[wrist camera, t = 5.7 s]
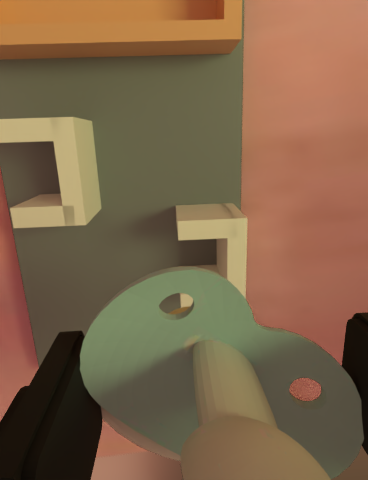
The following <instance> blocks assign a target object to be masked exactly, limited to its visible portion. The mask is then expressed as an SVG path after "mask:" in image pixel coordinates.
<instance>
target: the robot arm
mask: <svg viewBox="0 0 368 480" xmlns="http://www.w3.org/2000/svg"><path fill="white" fill-rule="evenodd" d="M84 338H85V336H84V334H83V331H81V330H80V331H64V332H59V333H58V335H57V337H56V338H55V340H54V342H53V344H52V346H51V347H50V349H49V351H48V353H47V355H46V356H45V358H44V360H43V362H42V364H41V365H40V367H39V369H38V371H37V373H36V374H35V376H34V378H33V380H32V382H31V383H30V385H29V386H24V387H23V388H21V389H20V390H19V392H18V393H17V394H16V396H15V398H14V400H13V401H12V403H11V405H10V406H9V408H8V410H7V412H6V413H5V415H4V417H3V418H2V420H1V422H0V480H90V479H91V475H92V470H93V466H94V462H95V457H96V453H97V448H98V444H99V439H100V435H101V430H102V411H101V406H100V405H99V404H98V403H97V402H96V401H95V400H94V399H93V398H92V396H91V395H90V394H89V392H88V390H87V388H86V387H85V385H84V382H83V378H82V375H81V372H80V353H81V349H82V344H83V340H84ZM342 367H343V368H344V370H345V371H346V372H347V373H348V375H349V376H350V377H351V379H352V380H353V382H354V384H355V386H356V388H357V391H358V393H359V396H360V398H361V408H362V425H363V434H364V440H363V443H362V446H363V448H364V450H365V451H366V453H367V454H368V313H356V314H354V316H353V318H352V319H349V320H348V322H347V326H346V334H345V343H344V351H343V360H342Z"/></svg>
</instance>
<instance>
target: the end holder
mask: <svg viewBox="0 0 368 480" xmlns="http://www.w3.org/2000/svg"><path fill="white" fill-rule="evenodd" d="M241 38H242V0H0V60H2V59H41V58H80V57H119V56H158V55H197V54H231V52H232V51H233V50H234V48H235V47H236V46H237V44H238V43H239V42H240V40H241Z"/></svg>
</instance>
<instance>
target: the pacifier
mask: <svg viewBox="0 0 368 480" xmlns="http://www.w3.org/2000/svg"><path fill="white" fill-rule="evenodd" d="M176 293H184V294H188V295H189V296H191V297H192V298H193V303H192V305H191V306H188V307H182V308H179V309H176V310H173V311H172V312H170V313H168V314H167V313H165V312H163V311H162V310H161V309H160V308H159V304H160V303H161V301H162V300H164V299H165V298H166V297H168V296H170V295H172V294H176ZM80 372H81V375H82V378H83V382H84V385H85V387H86V388H87V390H88V392H89V394H90V395H91V396H92V398H93V399H94V400H95V401H96V402H97V403H98V404H99V405H100V406H101V411H102V419H103V420H104V421H106V422H107V423H108V424H109V425H110V426H111V427H112V428H113V429H114V430H115V431H116V432H118V433H119V434H120V435H122V436H124V437H125V438H127V439H128V440H130V441H131V442H133V443H135V444H136V445H138V446H139V447H142V448H144V449H146V450H148V451H151V452H153V453H155V454H158V455H160V456H163V457H166V458H169V459H173V460H177V461H181V471H182V477H183V480H331V479H332V478H335V477H337V476H338V475H339V474H341V473H342V472H343V471H344V470H345V469H346V468H348V467H349V466H350V465H351V463H352V462H353V461H354V459H355V458H356V457H357V455H358V453H359V450H360V448H361V445H362V443H363V440H364V434H363V425H362V408H361V398H360V396H359V393H358V391H357V388H356V386H355V384H354V382H353V380H352V379H351V377H350V376H349V375H348V373H347V372H346V371H345V370H344V368H343V367H342V366H341V365H340V364H339V363H338V362H337V361H336V360H335V359H334V358H333V357H332V356H331V355H330V354H329V353H328V352H326V351H325V350H324V349H322V348H321V347H320V346H319V345H317V344H316V343H315V342H313V341H311V340H309V339H307V338H305V337H303V336H301V335H299V334H296V333H293V332H290V331H287V330H284V329H279V328H271V327H264V326H261V325H259V324H257V323H256V322H255V321H254V317H253V313H252V310H251V308H250V306H249V305H248V303H247V301H246V299H245V297H244V296H243V295H242V294H241V293H240V292H239V290H238V289H237V288H236V287H235V286H234V285H233V284H232V283H231V282H230V281H228V280H227V279H225V278H224V277H222V276H221V275H219V274H218V273H215V272H213V271H210V270H207V269H203V268H198V267H188V266H186V267H171V268H167V269H162V270H159V271H156V272H153V273H150V274H148V275H146V276H144V277H142V278H140V279H138V280H136V281H134V282H132V283H130V284H129V285H128V286H126V287H125V288H124V289H122V290H121V291H120V292H118V293H117V294H116V295H115V296H114V297H113V298H112V299H111V300H109V301H108V302H107V303H106V304H105V305H104V306H103V307H102V309H101V310H100V312H99V313H98V314H97V316H96V317H95V319H94V320H93V321H92V323H91V325H90V327H89V329H88V332H87V334H86V336H85V338H84V340H83V344H82V349H81V353H80ZM298 378H310V379H312V380H315V381H316V382H318V383H319V384H320V385H321V394H320V396H319V397H318V398H317V399H315V400H313V401H302V400H299V399H297V398H295V397H294V396H292V395H291V394H290V392H289V388H290V385H291V383H292V382H293V381H294V380H296V379H298Z"/></svg>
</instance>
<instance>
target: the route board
mask: <svg viewBox="0 0 368 480" xmlns="http://www.w3.org/2000/svg"><path fill="white" fill-rule="evenodd" d="M243 43H244V0H242V38H241V40H240V42H239V43H238V44H237V46H236V47H235V48H234V50H233V51H232V52H231V54H197V55H158V56H119V57H80V58H41V59H2V60H0V167H1V173H2V178H3V183H4V188H5V193H6V199H7V204H8V209H9V214H10V219H11V224H12V230H13V235H14V240H15V245H16V250H17V256H18V261H19V266H20V271H21V276H22V282H23V287H24V292H25V297H26V302H27V307H28V313H29V318H30V323H31V328H32V333H33V339H34V344H35V349H36V354H37V359H38V365H39V367H40V365H41V364H42V362H43V360H44V358H45V356H46V355H47V353H48V351H49V349H50V347H51V346H52V344H53V342H54V340H55V338H56V337H57V335H58V333H59V332H64V331H80V330H81V331H83V334H84V336H86V334H87V332H88V329H89V327H90V325H91V323H92V321H93V320H94V319H95V317H96V316H97V314H98V313H99V312H100V310H101V309H102V307H103V306H104V305H105V304H106V303H107V302H108V301H109V300H111V299H112V298H113V297H114V296H115V295H116V294H117V293H118V292H120V291H121V290H122V289H124V288H125V287H126V286H128V285H129V284H130V283H132V282H134V281H136V280H138V279H140V278H142V277H144V276H146V275H148V274H150V273H153V272H156V271H159V270H162V269H167V268H171V267H186V266H188V267H198V268H203V269H207V270H210V271H213V272H215V273H218V274H219V275H221V276H222V277H224V278H225V279H227V280H228V281H230V282H231V283H232V284H233V285H234V286H235V287H236V288H237V289H238V290H239V292H240V293H241V294H242V295H243V296H244V297H245V299H246V261H247V220H248V218H247V217H246V216H245V215H244V214H243V213H242V212H241V155H242V99H243ZM192 303H193V298H192V297H191V296H189V295H188V294H184V293H176V294H172V295H170V296H168V297H166V298H165V299H164V300H162V301H161V303H160V304H159V308H160V309H161V310H162V311H163V312H165V313H167V314H168V313H170V312H172V311H173V310H176V309H179V308H182V307H188V306H191V305H192Z"/></svg>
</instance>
